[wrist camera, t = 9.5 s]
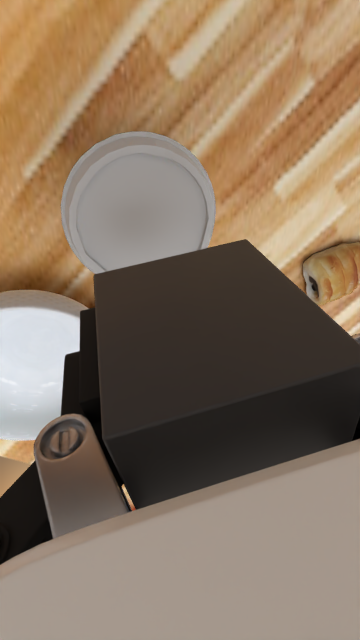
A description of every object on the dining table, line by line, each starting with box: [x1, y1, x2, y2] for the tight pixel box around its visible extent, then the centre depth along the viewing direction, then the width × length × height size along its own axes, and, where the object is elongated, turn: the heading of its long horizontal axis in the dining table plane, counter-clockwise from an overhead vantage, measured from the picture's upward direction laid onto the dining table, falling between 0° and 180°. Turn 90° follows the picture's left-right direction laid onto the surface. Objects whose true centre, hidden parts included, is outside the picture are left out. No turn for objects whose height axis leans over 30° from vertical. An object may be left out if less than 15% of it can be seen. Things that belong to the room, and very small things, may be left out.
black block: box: [94, 239, 360, 510], centre depth 9 cm, size 5×5×6 cm
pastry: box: [303, 242, 360, 305], centre depth 38 cm, size 9×7×4 cm
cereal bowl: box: [0, 289, 89, 440], centre depth 33 cm, size 17×17×7 cm
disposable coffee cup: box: [61, 131, 216, 274], centre depth 24 cm, size 10×10×12 cm
